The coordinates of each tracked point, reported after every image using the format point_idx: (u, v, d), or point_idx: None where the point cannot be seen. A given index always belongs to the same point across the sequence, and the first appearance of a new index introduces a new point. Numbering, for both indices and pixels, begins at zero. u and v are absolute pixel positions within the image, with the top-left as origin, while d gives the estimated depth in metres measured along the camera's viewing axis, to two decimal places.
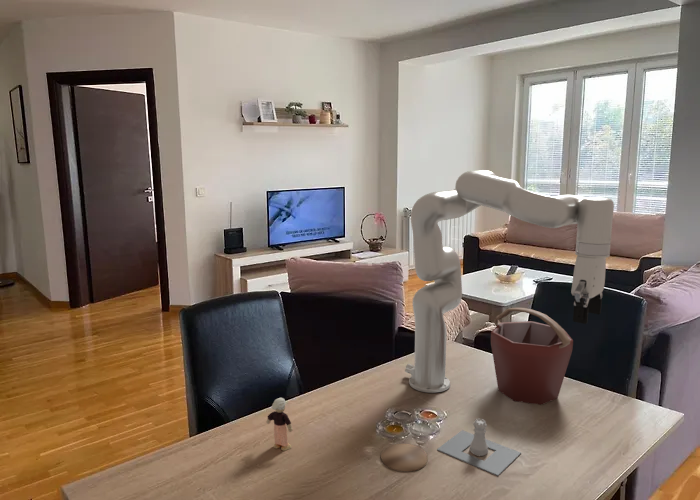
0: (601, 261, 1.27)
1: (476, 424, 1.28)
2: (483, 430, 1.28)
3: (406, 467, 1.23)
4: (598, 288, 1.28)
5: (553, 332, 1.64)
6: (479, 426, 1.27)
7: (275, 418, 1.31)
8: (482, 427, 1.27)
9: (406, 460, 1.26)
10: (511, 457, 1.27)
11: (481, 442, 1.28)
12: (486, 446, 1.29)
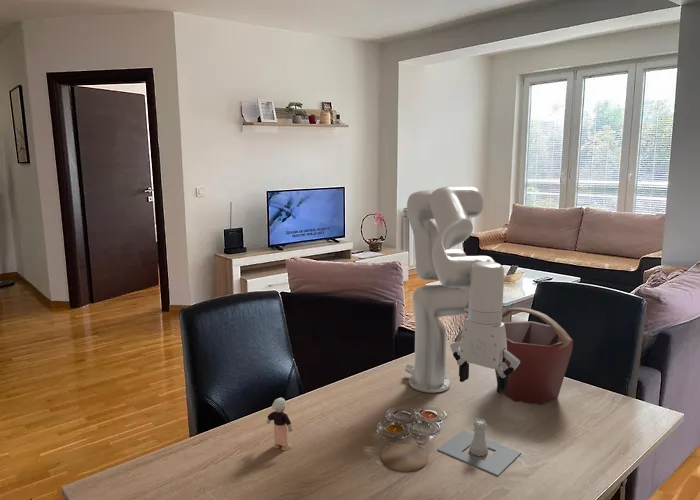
0: None
1: (476, 424, 1.28)
2: (483, 430, 1.28)
3: (406, 467, 1.23)
4: None
5: (553, 332, 1.64)
6: (479, 426, 1.27)
7: (275, 418, 1.31)
8: (482, 427, 1.27)
9: (406, 460, 1.26)
10: (511, 457, 1.27)
11: (481, 442, 1.28)
12: (486, 446, 1.29)
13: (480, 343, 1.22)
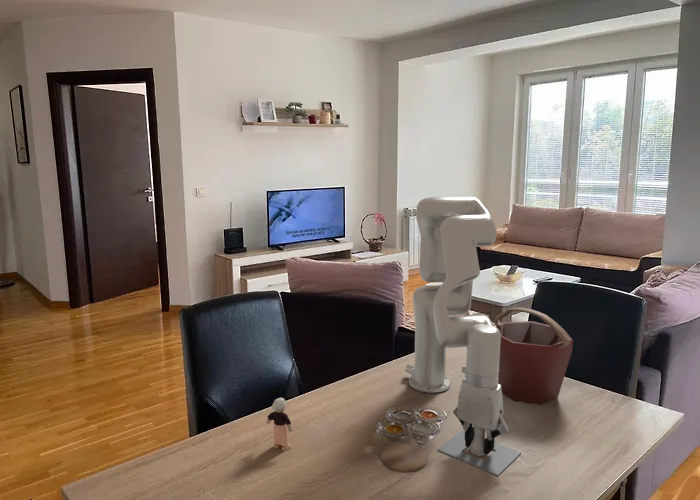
0: None
1: None
2: (483, 430, 1.28)
3: (406, 467, 1.23)
4: None
5: (553, 332, 1.64)
6: None
7: (275, 418, 1.31)
8: None
9: (406, 460, 1.26)
10: (511, 457, 1.27)
11: (481, 442, 1.28)
12: None
13: (477, 405, 1.25)
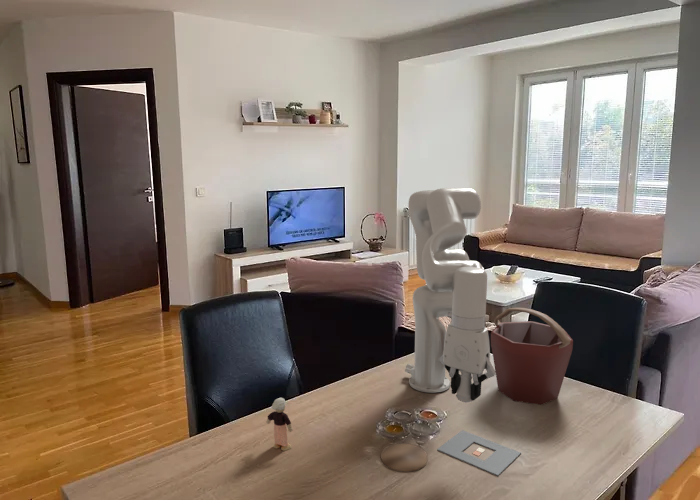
0: None
1: None
2: (470, 376, 1.25)
3: (406, 467, 1.23)
4: None
5: (553, 332, 1.64)
6: None
7: (275, 418, 1.31)
8: None
9: (406, 460, 1.26)
10: (511, 457, 1.27)
11: (467, 387, 1.25)
12: None
13: (463, 348, 1.22)
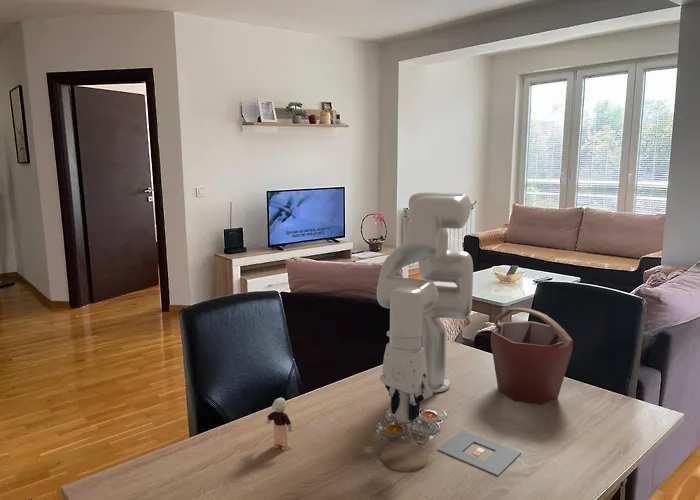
0: None
1: None
2: (408, 396, 1.23)
3: (406, 467, 1.23)
4: None
5: (553, 332, 1.64)
6: None
7: (275, 418, 1.31)
8: None
9: (406, 460, 1.26)
10: (511, 457, 1.27)
11: (405, 408, 1.24)
12: None
13: (400, 368, 1.21)
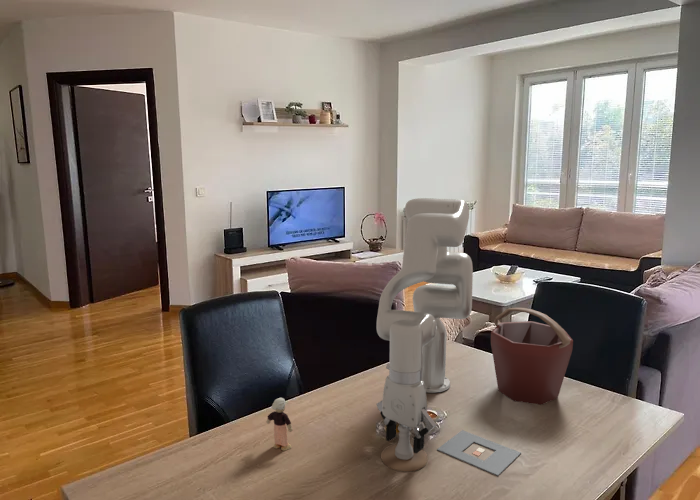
0: None
1: (400, 428, 1.25)
2: (407, 434, 1.26)
3: (406, 467, 1.23)
4: None
5: (553, 332, 1.64)
6: (403, 430, 1.25)
7: (275, 418, 1.31)
8: (406, 431, 1.25)
9: (406, 460, 1.26)
10: (511, 457, 1.27)
11: (405, 445, 1.26)
12: (411, 450, 1.26)
13: (400, 402, 1.22)
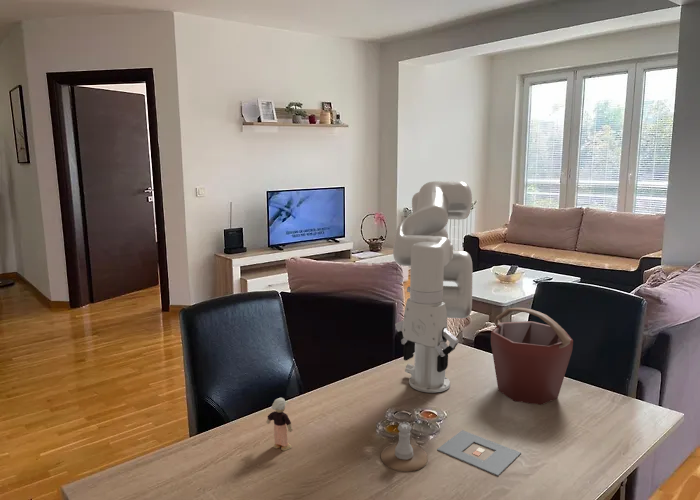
0: None
1: (400, 428, 1.26)
2: (407, 434, 1.26)
3: (406, 467, 1.23)
4: None
5: (553, 332, 1.64)
6: (403, 430, 1.25)
7: (275, 418, 1.31)
8: (406, 431, 1.25)
9: (406, 460, 1.26)
10: (511, 457, 1.27)
11: (405, 445, 1.26)
12: (411, 450, 1.26)
13: (420, 322, 1.23)
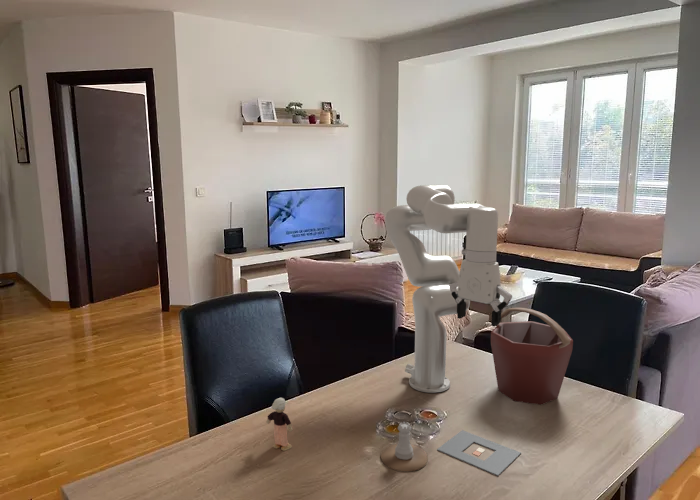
0: None
1: (400, 428, 1.26)
2: (407, 434, 1.26)
3: (406, 467, 1.23)
4: None
5: (553, 332, 1.64)
6: (403, 430, 1.25)
7: (275, 418, 1.31)
8: (406, 431, 1.25)
9: (406, 460, 1.26)
10: (511, 457, 1.27)
11: (405, 445, 1.26)
12: (411, 450, 1.26)
13: (476, 280, 1.34)
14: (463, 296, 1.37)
